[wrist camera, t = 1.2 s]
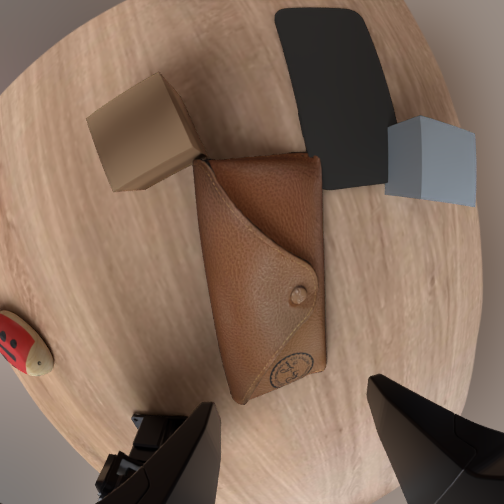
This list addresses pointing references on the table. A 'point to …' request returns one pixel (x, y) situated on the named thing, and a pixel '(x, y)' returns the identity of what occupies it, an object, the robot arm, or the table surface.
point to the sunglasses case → (264, 267)
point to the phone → (338, 93)
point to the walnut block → (144, 135)
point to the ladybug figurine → (23, 346)
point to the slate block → (431, 161)
